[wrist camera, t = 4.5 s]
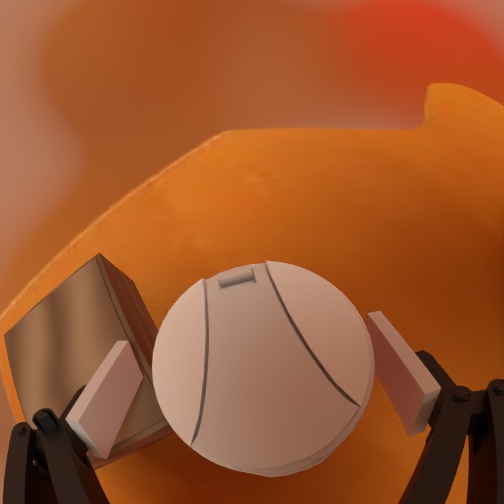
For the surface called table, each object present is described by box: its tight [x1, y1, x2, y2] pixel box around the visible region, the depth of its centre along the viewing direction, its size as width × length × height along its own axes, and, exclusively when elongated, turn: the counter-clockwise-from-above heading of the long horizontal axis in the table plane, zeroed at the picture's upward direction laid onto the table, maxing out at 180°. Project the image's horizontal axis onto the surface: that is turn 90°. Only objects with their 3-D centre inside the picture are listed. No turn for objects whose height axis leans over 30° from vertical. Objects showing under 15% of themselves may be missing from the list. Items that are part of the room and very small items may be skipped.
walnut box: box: [4, 253, 175, 470], centre depth 19 cm, size 14×14×6 cm
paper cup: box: [152, 261, 375, 477], centre depth 14 cm, size 8×8×14 cm
